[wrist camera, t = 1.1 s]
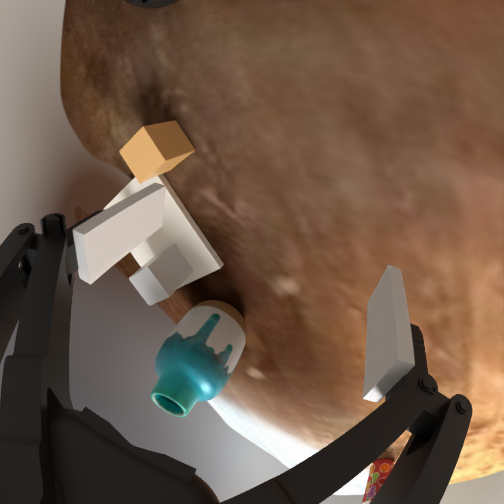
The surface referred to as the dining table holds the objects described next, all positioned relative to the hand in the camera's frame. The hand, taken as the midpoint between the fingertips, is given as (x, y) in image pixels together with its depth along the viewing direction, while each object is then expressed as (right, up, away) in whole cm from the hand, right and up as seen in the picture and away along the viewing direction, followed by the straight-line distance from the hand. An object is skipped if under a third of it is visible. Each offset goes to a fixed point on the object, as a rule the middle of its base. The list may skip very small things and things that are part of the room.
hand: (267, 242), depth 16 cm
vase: (-5, -11, +33) cm, 35 cm away
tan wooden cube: (-11, +14, +21) cm, 28 cm away
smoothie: (+35, -58, +43) cm, 80 cm away
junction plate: (-15, +2, +29) cm, 33 cm away
